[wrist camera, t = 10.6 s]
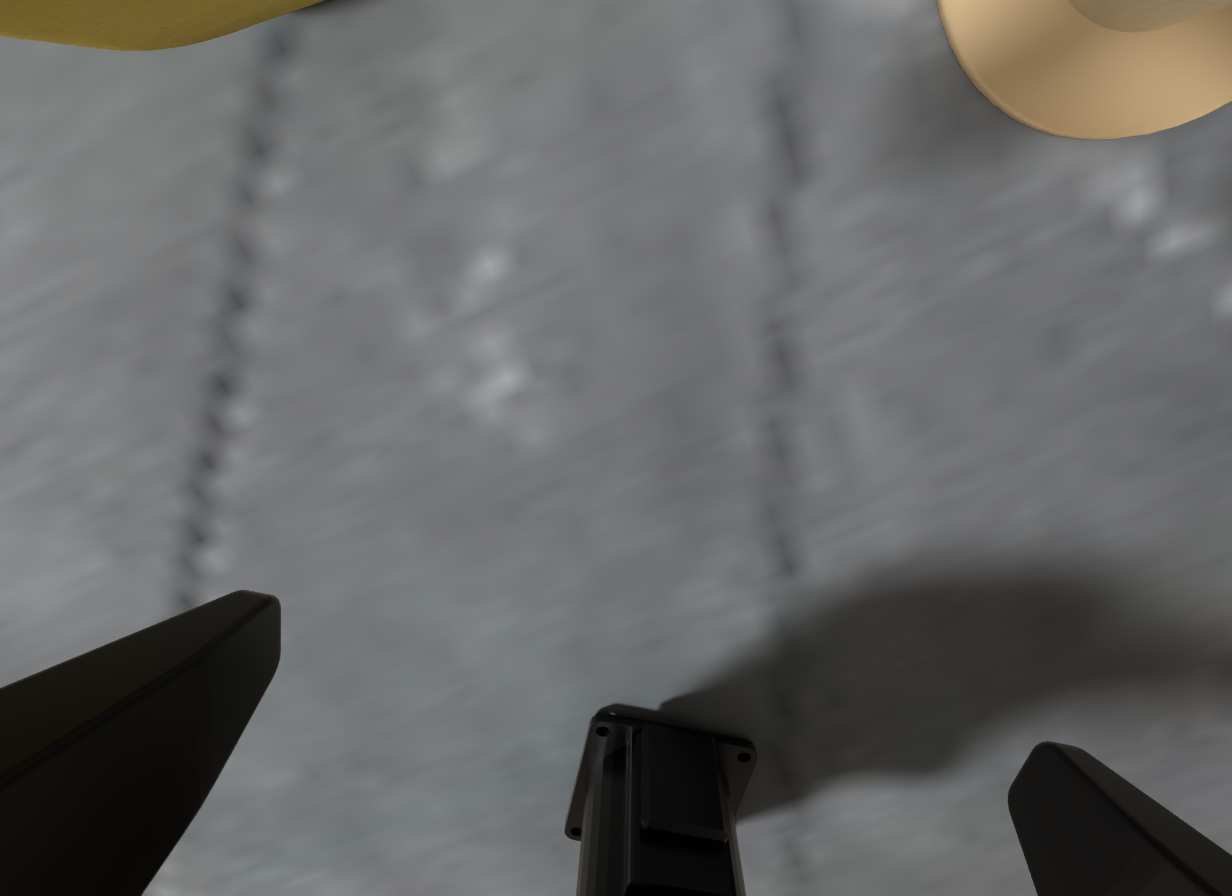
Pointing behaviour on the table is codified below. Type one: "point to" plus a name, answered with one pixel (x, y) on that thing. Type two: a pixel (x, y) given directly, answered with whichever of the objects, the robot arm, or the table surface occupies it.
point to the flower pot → (135, 21)
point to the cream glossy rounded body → (1144, 12)
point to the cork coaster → (1089, 67)
